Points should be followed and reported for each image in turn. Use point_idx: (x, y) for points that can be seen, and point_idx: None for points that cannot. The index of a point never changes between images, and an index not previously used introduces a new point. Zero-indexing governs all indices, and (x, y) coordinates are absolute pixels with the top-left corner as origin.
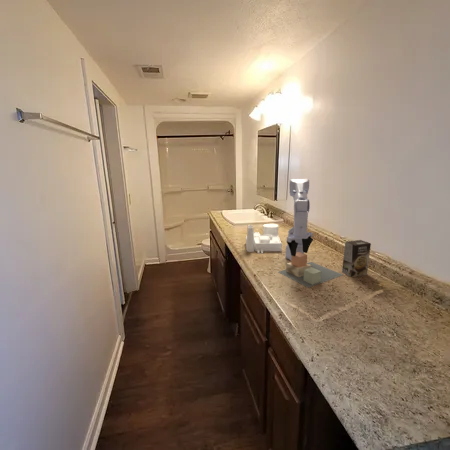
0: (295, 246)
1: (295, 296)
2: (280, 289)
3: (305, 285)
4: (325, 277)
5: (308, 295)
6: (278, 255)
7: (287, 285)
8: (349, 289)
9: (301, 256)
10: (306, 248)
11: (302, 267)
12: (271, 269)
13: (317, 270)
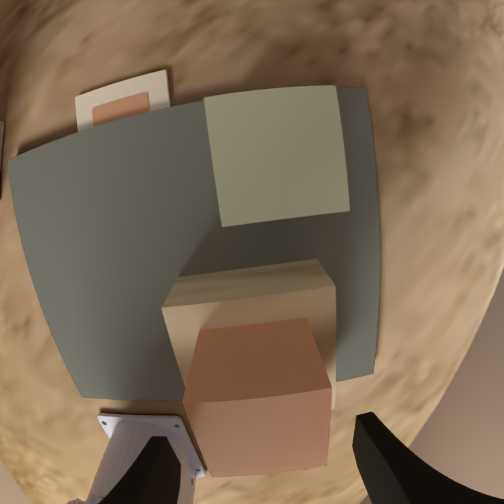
0: (457, 500)
1: (460, 86)
2: (479, 190)
3: (362, 122)
4: (124, 163)
5: (397, 47)
6: (203, 498)
7: (429, 210)
8: (108, 5)
9: (294, 393)
10: (152, 484)
11: (279, 300)
12: (352, 416)
13: (226, 128)
